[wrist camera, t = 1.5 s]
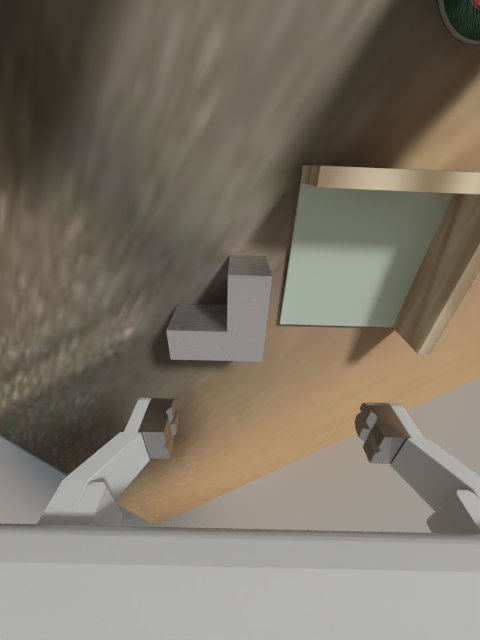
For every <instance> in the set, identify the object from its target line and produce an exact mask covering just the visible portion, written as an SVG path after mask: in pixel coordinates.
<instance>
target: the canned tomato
mask: <svg viewBox="0 0 480 640" xmlns="http://www.w3.org/2000/svg"><path fill="white" fill-rule="evenodd" d="M438 4H439V9H440V14H441V17H442V19H443V21H444V24H445V26H446V28H447V29H448V30H449V31H450V33H451V34H452V35H453V36H454V37H455V38H457V39H459V40H460V41H462V42H465V43H469V44H473V45H474V44H480V0H438Z"/></svg>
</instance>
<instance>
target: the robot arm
mask: <svg viewBox="0 0 480 640" xmlns="http://www.w3.org/2000/svg"><path fill="white" fill-rule="evenodd" d="M176 406H177V402H176V399H162V398H140V399H139V400H138V401H137V404H136V406H135V408H134V410H133V412H132V415H131V417H130V419H129V421H128V423H127V426H126V428H125V430H124V432H120V433H118V434H117V435H116V436H115V437H114V438H112V439H111V440H110V441H109V442H108V443H106V444H105V445H104V446H103V447H102V448H100V449H99V450H98V451H97V452H96V453H94V454H93V455H92V456H91V457H90V458H88V459H87V460H86V461H85V462H84V463H82V464H81V465H80V466H79V467H78V468H76V469H75V470H74V471H73V472H72V473H70V474H69V475H68V476H67V477H66V478H64V479H63V480H62V482H61V484H60V485H59V487H58V489H57V491H56V492H55V494H54V496H53V497H52V499H51V501H50V503H49V504H48V506H47V508H46V510H45V511H44V513H43V515H42V516H41V518H40V520H39V522H38V523H37V524H0V640H480V476H479V475H477V474H476V473H474V472H473V471H472V470H471V469H469V468H468V467H466V466H465V465H464V464H462V463H461V462H459V461H458V460H457V459H455V458H454V457H453V456H451V455H450V454H448V453H447V452H446V451H444V450H443V449H442V448H440V447H439V446H437V445H436V444H435V443H433V442H432V441H430V440H429V439H424V437H423V436H422V434H421V433H420V431H419V430H418V428H417V427H416V425H415V424H414V422H413V421H412V419H411V418H410V416H409V415H408V413H407V412H406V410H405V409H404V407H403V406H402V405H401V404H396V403H363V404H362V405H361V407H360V410H361V413H359V414H358V415H357V416H356V419H355V428H356V432H357V434H358V437H359V438H360V439H361V440H363V441H364V445H363V448H364V451H365V453H366V455H367V458H368V460H369V462H370V463H382V464H391V466H392V467H393V468H394V469H395V470H396V471H397V473H398V474H399V475H400V476H401V477H402V478H403V479H404V480H405V481H406V482H407V483H408V484H409V485H410V486H411V487H412V488H413V489H414V490H415V491H416V492H417V493H418V494H419V495H420V496H421V497H422V498H423V499H424V500H425V501H426V502H427V503H428V504H429V506H430V507H431V508H432V509H433V510H434V511H435V512H434V513H433V514H432V515H431V516H430V517H429V518H428V519H427V522H426V523H427V524H428V527H429V529H430V531H431V533H409V532H407V533H406V532H363V531H318V530H316V531H315V530H313V531H312V530H272V529H271V530H270V529H269V530H268V529H226V528H179V527H132V526H119V525H120V522H121V519H122V513H121V511H120V510H119V508H118V506H117V504H116V502H115V500H116V499H117V498H118V497H119V496H120V495H121V493H122V492H123V491H124V490H125V489H126V487H127V486H128V485H129V484H130V483H131V482H132V480H133V479H134V478H135V477H136V476H137V474H138V473H139V472H140V471H141V470H142V469H143V467H144V466H145V465H146V464H147V463H148V461H149V460H150V459H170V457H171V453H172V449H173V445H174V440H173V436H174V435H175V434H176V433H177V429H178V423H179V413H178V410H176Z"/></svg>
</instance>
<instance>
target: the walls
mask: <svg viewBox="0 0 480 640" xmlns="http://www.w3.org/2000/svg"><path fill="white" fill-rule="evenodd" d="M300 183H304V184H307V185H311V186H314V187H321V188H344V189H367V190H390V191H414V192H437V193H453V195H452V198H451V200H450V202H449V204H448V206H447V209H446V211H445V213H444V215H443V217H442V220H441V222H440V224H439V226H438V228H437V231H436V233H435V235H434V237H433V239H432V242H431V244H430V246H429V248H428V250H427V253H426V255H425V257H424V259H423V261H422V264H421V266H420V268H419V270H418V272H417V274H416V277H415V279H414V281H413V283H412V285H411V288H410V290H409V292H408V294H407V296H406V299H405V301H404V303H403V305H402V307H401V310H400V312H399V314H398V316H397V318H396V321H395V323H394V325H393V328H394V329H395V330H396V332H397V333H398V334H399V335H400V336H401V337H402V338H403V339H404V340H405V341H406V342H407V343H408V344H409V345H410V346H411V347H412V348H413V350H414V351H415V352H416V353H417V354H430V353H431V351H432V350H433V348H434V346H435V345H436V343H437V341H438V340H439V338H440V336H441V335H442V333H443V331H444V330H445V328H446V326H447V325H448V323H449V321H450V320H451V318H452V316H453V315H454V313H455V311H456V310H457V308H458V306H459V305H460V303H461V301H462V300H463V298H464V296H465V295H466V293H467V291H468V290H469V288H470V286H471V285H472V283H473V281H474V280H475V278H476V276H477V275H478V273H479V271H480V173H473V172H451V171H429V170H407V169H385V168H362V167H340V166H315V165H303V168H302V175H301V182H300Z"/></svg>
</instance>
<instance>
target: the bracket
mask: <svg viewBox="0 0 480 640" xmlns="http://www.w3.org/2000/svg"><path fill="white" fill-rule="evenodd" d="M271 281H272V275H271V271H270V268H269V265H268V261H267V258H266V256H244V255H230V256H229V268H228V303H227V305H209V304H177V306H176V309H175V311H174V313H173V316H172V318H171V320H170V323H169V325H168V327H167V330H166V332H167V338H168V345H169V352H170V358H171V359H172V360H214V361H257V362H262V359H263V350H264V342H265V333H266V324H267V316H268V307H269V299H270V290H271Z"/></svg>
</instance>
